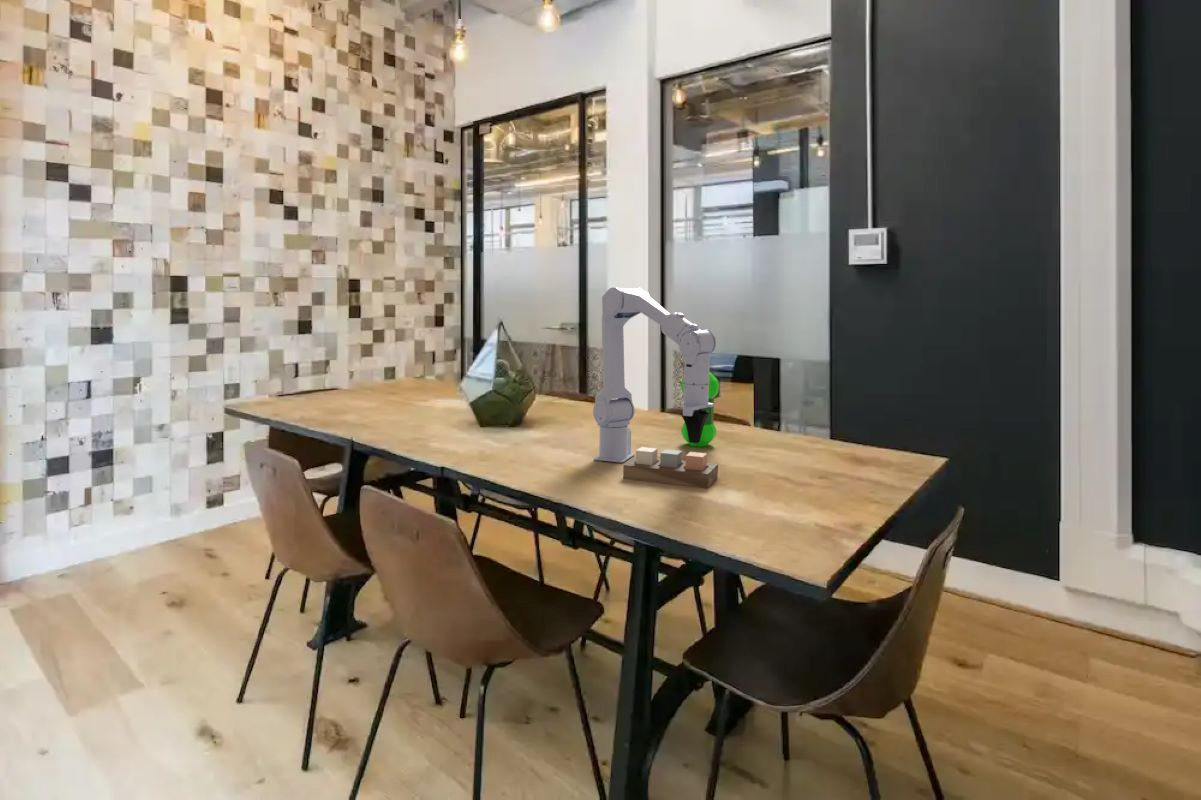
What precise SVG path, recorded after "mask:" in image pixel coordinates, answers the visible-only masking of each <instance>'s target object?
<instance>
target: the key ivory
mask: <svg viewBox="0 0 1201 800" xmlns="http://www.w3.org/2000/svg"><path fill="white" fill-rule="evenodd" d="M635 457H636V464H645V465H655V464H656V463H657V458H658V448H655V447H654V448H653V447H646V446H641V447H639V448H638V449H636V450H635Z"/></svg>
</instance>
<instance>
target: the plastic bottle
mask: <svg viewBox="0 0 1201 800" xmlns="http://www.w3.org/2000/svg"><path fill="white" fill-rule="evenodd" d="M683 390H684V378H683V380H682V381H681V393H682V394H683ZM719 390H720V382H719V380H718V379H717V377H716V376H715V375H714V374H713V373H711V372H710V371H709V400H708V402H709V403H714V404H715V397H716V396H717V395H718V394H719ZM714 409H715V405H714V406H713V407H707V408H702V410H706V411H709V415H708V417H707V419H706V421H705V424H704V427H703V431H702V435H701V439H700V442H699V443H691V442H689V438H688V432H687V428H686V424H685V422H684V421H683V422H684V423H683V425H682V426H681V428H680V429H681V432H680V433H681V436H682V438H683V439H684V440H685V441H686V442H687V443H688V445H690V446H692V447H707V446H708V445H709V444H710V443H711V442H712V441H713V440H714V439H715V437H716V436H717V428H716V425H715V423H714V413H715V411H714Z"/></svg>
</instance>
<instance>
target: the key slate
mask: <svg viewBox="0 0 1201 800" xmlns="http://www.w3.org/2000/svg"><path fill="white" fill-rule="evenodd" d="M659 458H660V466H664V467H673V468H679V467H680V466H681V465H682V460H683V451H682V450H675V449H674V450H673V449H664V450H663V451H661V452H660V457H659Z"/></svg>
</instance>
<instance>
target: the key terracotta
mask: <svg viewBox="0 0 1201 800" xmlns="http://www.w3.org/2000/svg"><path fill="white" fill-rule="evenodd" d="M685 461H686V464H685V469H692V470H702V471H704V470H705V469H707V463H708V453H707V452H696V451H689V452H688V453H687V454H686V455H685Z"/></svg>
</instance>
